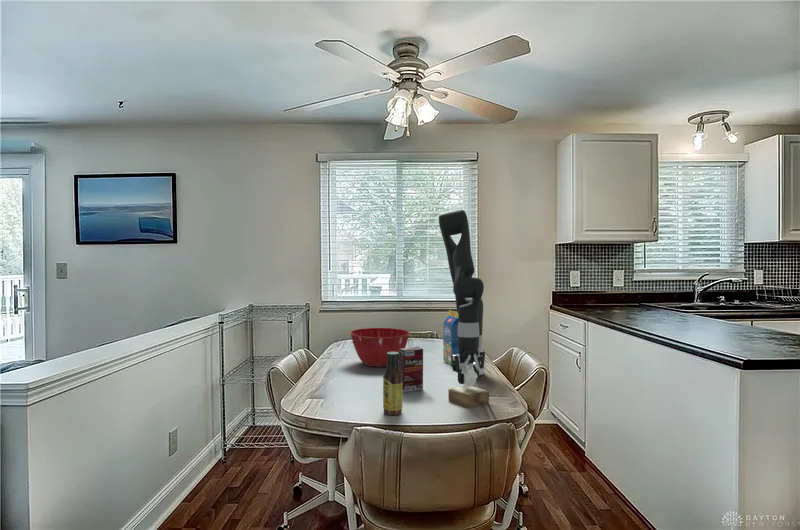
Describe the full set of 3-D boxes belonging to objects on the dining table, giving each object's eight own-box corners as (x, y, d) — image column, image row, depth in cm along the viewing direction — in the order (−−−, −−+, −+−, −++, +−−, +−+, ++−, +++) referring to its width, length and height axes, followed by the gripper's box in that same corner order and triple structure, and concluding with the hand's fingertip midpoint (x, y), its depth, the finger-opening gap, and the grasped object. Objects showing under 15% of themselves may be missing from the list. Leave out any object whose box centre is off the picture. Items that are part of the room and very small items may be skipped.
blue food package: (451, 366, 230) (451, 312, 230) (443, 360, 242) (443, 310, 242) (463, 365, 232) (463, 312, 231) (455, 360, 243) (455, 309, 243)
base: (469, 396, 180) (469, 384, 180) (489, 402, 172) (489, 390, 172) (448, 400, 175) (448, 388, 175) (467, 407, 167) (467, 394, 167)
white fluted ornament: (457, 383, 176) (457, 364, 176) (473, 382, 177) (473, 363, 177) (463, 388, 170) (463, 368, 170) (480, 387, 171) (480, 367, 171)
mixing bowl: (420, 362, 240) (420, 330, 240) (388, 373, 216) (388, 338, 215) (373, 355, 255) (373, 326, 255) (337, 366, 231) (337, 333, 231)
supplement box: (403, 392, 185) (403, 350, 185) (398, 389, 189) (397, 348, 189) (423, 390, 189) (423, 348, 189) (417, 387, 193) (417, 346, 193)
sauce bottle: (382, 410, 164) (382, 350, 164) (401, 409, 164) (401, 350, 164) (383, 416, 157) (383, 354, 157) (403, 416, 158) (403, 354, 158)
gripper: (476, 331, 180) (476, 377, 181) (445, 335, 172) (445, 383, 173) (491, 334, 174) (491, 381, 174) (459, 338, 166) (459, 387, 166)
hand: (468, 382), depth 174 cm, fingers closed on white fluted ornament, 6 cm apart
